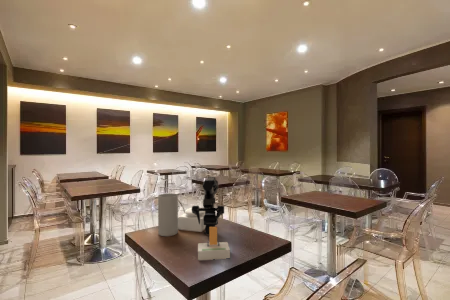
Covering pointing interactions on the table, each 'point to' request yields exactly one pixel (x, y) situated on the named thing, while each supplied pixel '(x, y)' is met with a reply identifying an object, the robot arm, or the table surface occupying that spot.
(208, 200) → the robot arm
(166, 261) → the table surface
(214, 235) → the breaker lever
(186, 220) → the butter dish
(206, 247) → the box
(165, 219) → the cylinder vase
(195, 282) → the table surface
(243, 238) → the table surface
